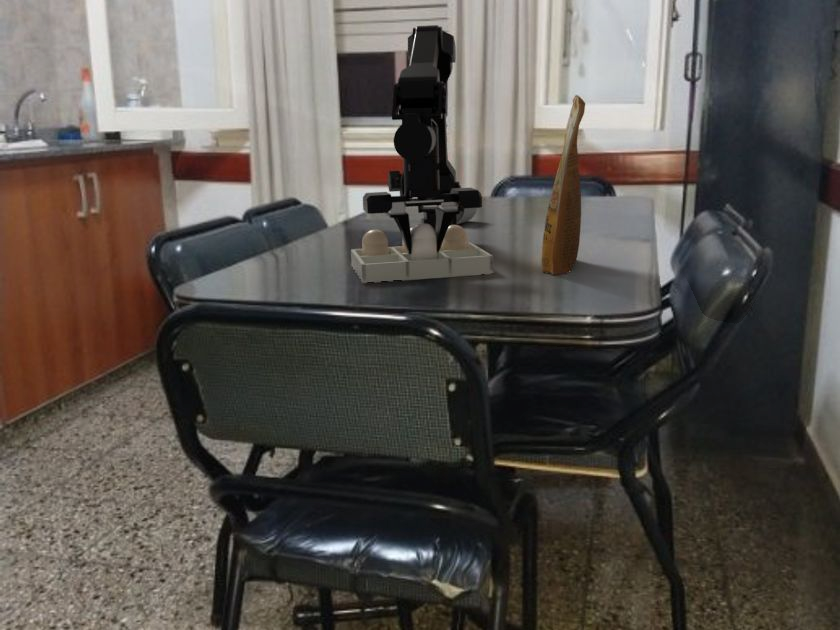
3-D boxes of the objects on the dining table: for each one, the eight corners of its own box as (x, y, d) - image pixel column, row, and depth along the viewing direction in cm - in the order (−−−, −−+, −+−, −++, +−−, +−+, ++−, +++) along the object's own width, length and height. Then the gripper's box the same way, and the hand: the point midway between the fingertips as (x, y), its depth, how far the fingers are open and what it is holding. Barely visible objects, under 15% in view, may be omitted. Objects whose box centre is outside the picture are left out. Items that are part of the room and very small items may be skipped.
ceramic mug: (479, 221, 188) (478, 189, 186) (465, 226, 181) (464, 192, 179) (439, 220, 192) (438, 188, 190) (424, 225, 185) (423, 192, 183)
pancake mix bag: (588, 256, 141) (592, 94, 134) (579, 278, 123) (583, 93, 116) (550, 255, 143) (553, 96, 136) (536, 277, 125) (538, 95, 118)
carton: (469, 258, 142) (469, 220, 140) (493, 273, 128) (493, 232, 126) (351, 266, 138) (349, 227, 136) (362, 283, 124) (360, 240, 122)
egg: (433, 257, 132) (432, 220, 130) (439, 262, 127) (438, 224, 126) (408, 259, 131) (406, 222, 129) (413, 263, 127) (412, 225, 125)
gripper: (464, 151, 134) (465, 241, 138) (356, 156, 131) (360, 248, 135) (482, 155, 124) (483, 252, 128) (365, 160, 120) (370, 260, 124)
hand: (423, 253), depth 129 cm, fingers closed on egg, 4 cm apart
